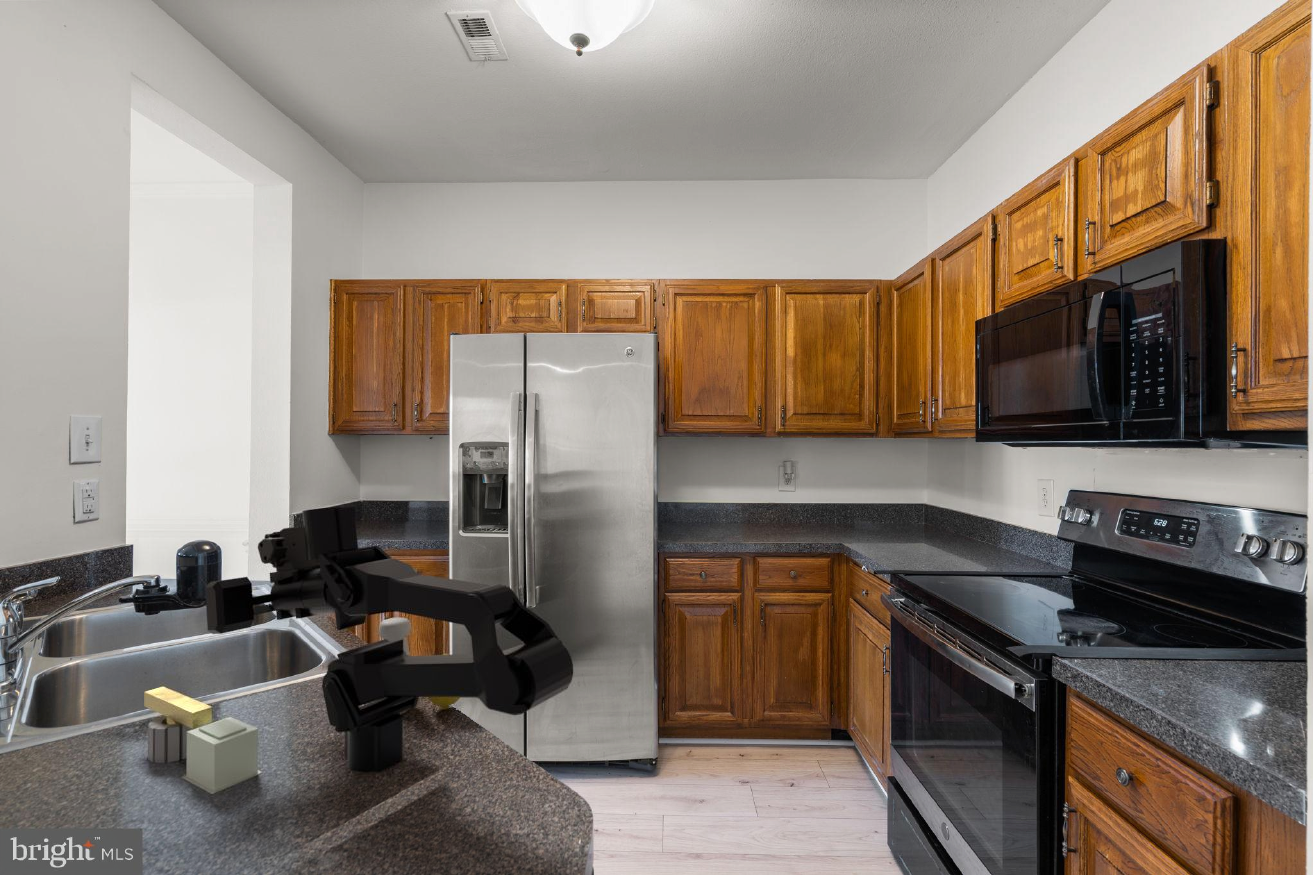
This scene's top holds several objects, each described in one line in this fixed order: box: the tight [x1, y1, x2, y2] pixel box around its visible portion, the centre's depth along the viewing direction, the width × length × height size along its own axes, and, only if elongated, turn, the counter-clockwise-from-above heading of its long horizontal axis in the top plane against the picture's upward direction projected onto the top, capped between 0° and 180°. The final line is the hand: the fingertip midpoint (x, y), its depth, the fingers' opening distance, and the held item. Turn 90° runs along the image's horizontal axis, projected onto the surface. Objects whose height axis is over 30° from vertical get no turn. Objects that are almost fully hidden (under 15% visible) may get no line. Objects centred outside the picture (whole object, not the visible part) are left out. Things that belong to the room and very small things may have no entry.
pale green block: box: [185, 716, 259, 791], centre depth 73 cm, size 6×4×5 cm
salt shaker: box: [373, 616, 412, 715], centre depth 93 cm, size 6×6×13 cm
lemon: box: [427, 653, 461, 711], centre depth 93 cm, size 6×6×8 cm
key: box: [143, 686, 213, 729], centre depth 78 cm, size 12×2×6 cm, turn 60°
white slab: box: [147, 714, 263, 795], centre depth 75 cm, size 17×10×5 cm, turn 60°
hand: (252, 597), depth 89 cm, fingers open, 9 cm apart
